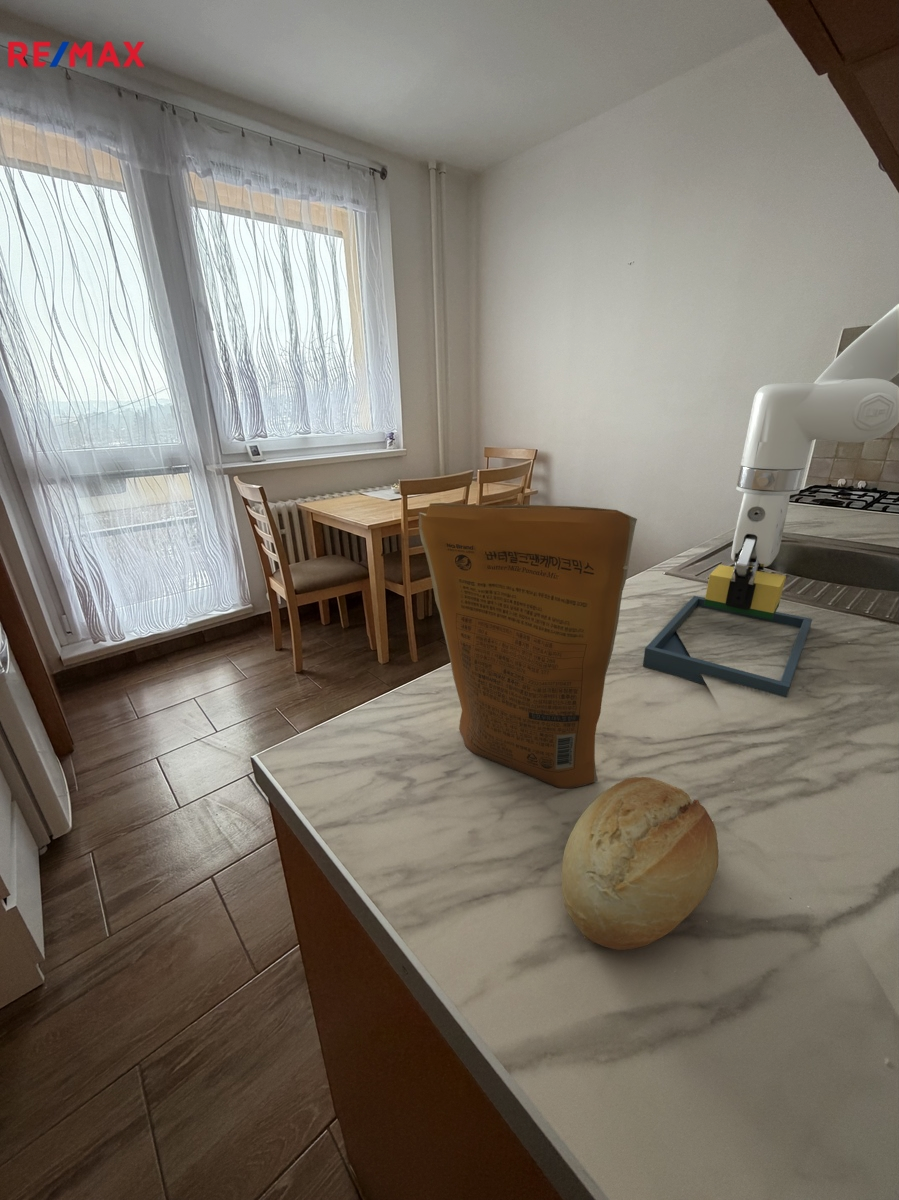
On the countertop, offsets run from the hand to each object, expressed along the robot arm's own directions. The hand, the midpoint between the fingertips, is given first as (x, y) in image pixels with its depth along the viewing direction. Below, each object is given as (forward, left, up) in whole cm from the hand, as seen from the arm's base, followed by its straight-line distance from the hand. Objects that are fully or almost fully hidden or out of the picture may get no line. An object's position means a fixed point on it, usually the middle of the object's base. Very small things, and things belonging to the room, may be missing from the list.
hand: (742, 599), depth 74 cm
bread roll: (+22, +46, -7) cm, 51 cm away
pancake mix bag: (+32, +33, -7) cm, 47 cm away
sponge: (0, 0, -1) cm, 1 cm away
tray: (+2, +5, -6) cm, 8 cm away
